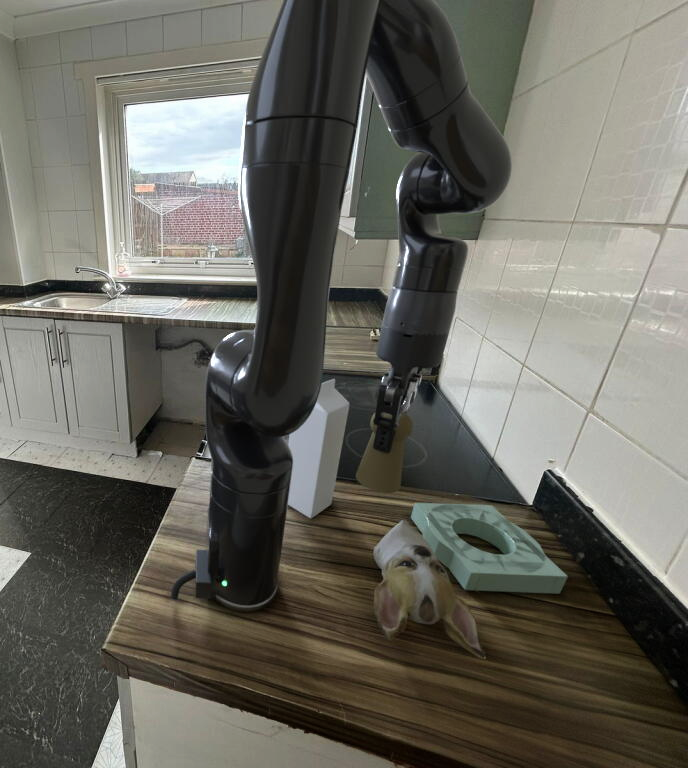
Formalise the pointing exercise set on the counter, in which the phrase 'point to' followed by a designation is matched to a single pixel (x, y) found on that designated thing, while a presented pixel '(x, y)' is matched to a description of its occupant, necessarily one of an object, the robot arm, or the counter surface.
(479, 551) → the plate
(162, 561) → the counter surface
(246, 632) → the counter surface
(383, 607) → the dog head figure
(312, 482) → the milk
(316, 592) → the counter surface
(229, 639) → the counter surface
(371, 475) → the cork
